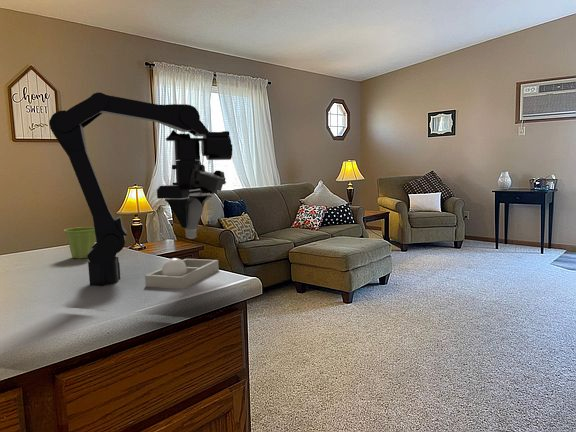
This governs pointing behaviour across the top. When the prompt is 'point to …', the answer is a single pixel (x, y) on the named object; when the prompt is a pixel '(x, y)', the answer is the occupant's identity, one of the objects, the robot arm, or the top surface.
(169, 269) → the ceramic egg
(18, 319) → the top surface
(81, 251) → the plant pot
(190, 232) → the light bulb
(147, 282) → the tray
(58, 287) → the top surface
